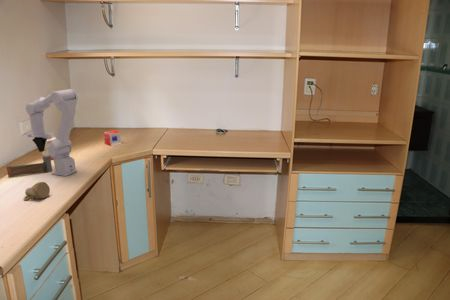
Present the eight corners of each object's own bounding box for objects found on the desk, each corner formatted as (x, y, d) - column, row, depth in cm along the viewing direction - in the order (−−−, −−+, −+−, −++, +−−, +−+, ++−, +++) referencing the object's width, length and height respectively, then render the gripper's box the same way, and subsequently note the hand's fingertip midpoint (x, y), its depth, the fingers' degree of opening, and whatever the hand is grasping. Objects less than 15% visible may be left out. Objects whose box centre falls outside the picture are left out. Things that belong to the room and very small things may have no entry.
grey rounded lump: (31, 193, 161) (40, 174, 160) (46, 205, 159) (55, 186, 157) (17, 195, 154) (26, 176, 152) (32, 208, 152) (41, 189, 150)
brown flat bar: (46, 172, 186) (45, 162, 184) (8, 177, 180) (6, 167, 178) (46, 171, 187) (45, 161, 186) (8, 176, 181) (6, 166, 179)
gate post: (52, 170, 189) (50, 156, 187) (48, 172, 186) (46, 158, 184) (48, 170, 190) (46, 156, 188) (44, 171, 187) (42, 157, 185)
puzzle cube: (115, 141, 243) (114, 130, 241) (121, 143, 238) (120, 132, 236) (104, 144, 238) (103, 132, 235) (110, 146, 232) (109, 134, 230)
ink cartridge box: (47, 161, 204) (43, 136, 200) (43, 159, 207) (38, 134, 203) (61, 157, 210) (58, 133, 206) (57, 156, 213) (54, 131, 209)
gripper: (20, 126, 185) (25, 151, 189) (41, 128, 180) (46, 154, 184) (32, 123, 192) (36, 148, 196) (53, 125, 186) (56, 150, 190)
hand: (41, 151), depth 190 cm, fingers closed
